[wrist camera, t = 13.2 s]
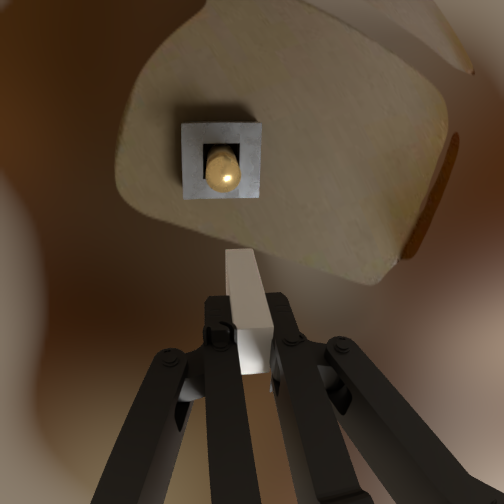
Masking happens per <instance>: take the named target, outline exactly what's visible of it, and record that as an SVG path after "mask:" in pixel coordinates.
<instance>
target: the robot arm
mask: <svg viewBox="0 0 504 504" xmlns="http://www.w3.org/2000/svg"><path fill="white" fill-rule="evenodd" d="M226 294H227V296H209V297H208V298H207V300H206V301H205V326H204V328H203V340H204V343H203V344H202V345H201V347H199V348H198V349H197V350H194V351H192V352H188V353H184V352H183V351H181V350H179V349H176V348H168V349H163V350H161V351H160V352H158V353H157V354H156V355H155V357H154V359H153V361H152V363H151V365H150V367H149V369H148V371H147V374H146V376H145V378H144V380H143V382H142V384H141V386H140V389H139V391H138V393H137V395H136V397H135V400H134V402H133V404H132V406H131V408H130V411H129V413H128V415H127V417H126V420H125V422H124V424H123V426H122V429H121V431H120V433H119V436H118V438H117V440H116V443H115V445H114V447H113V450H112V452H111V454H110V457H109V459H108V461H107V464H106V466H105V469H104V471H103V473H102V476H101V478H100V481H99V483H98V486H97V488H96V491H95V493H94V496H93V498H92V501H91V503H90V504H163V503H164V500H165V496H166V493H167V490H168V486H169V483H170V479H171V476H172V472H173V469H174V465H175V462H176V459H177V456H178V452H179V449H180V446H181V442H182V439H183V435H184V432H185V429H186V425H187V422H188V419H189V415H190V412H191V408H192V406H193V402H194V400H195V399H199V398H202V397H205V399H206V400H205V401H206V424H207V442H208V443H207V445H208V460H209V476H210V489H211V501H212V504H261V498H260V492H259V487H258V480H257V474H256V468H255V462H254V456H253V450H252V443H251V436H250V430H249V423H248V416H247V410H246V403H245V396H244V389H243V382H242V375H241V374H255V373H267V372H269V369H270V368H271V372H272V375H271V384H270V392H272V390H273V393H274V398H275V402H276V407H277V412H278V416H279V420H280V425H281V430H282V434H283V439H284V443H285V447H286V452H287V457H288V461H289V466H290V470H291V475H292V479H293V484H294V488H295V493H296V497H297V501H298V504H374V502H373V500H372V498H371V496H370V495H369V493H367V492H366V491H364V490H362V489H361V487H360V485H359V482H358V479H357V477H356V474H355V471H354V468H353V465H352V462H351V460H350V456H349V453H348V450H347V448H346V445H345V442H344V439H343V436H342V433H341V430H340V428H339V425H338V422H339V423H340V425H341V426H342V428H343V429H344V430H345V432H346V433H347V435H348V436H349V438H350V439H351V441H352V442H353V443H354V445H355V446H356V448H357V449H358V451H359V452H360V453H361V455H362V456H363V458H364V459H365V460H366V462H367V463H368V465H369V466H370V468H371V469H372V470H373V472H374V473H375V475H376V476H377V477H378V479H379V480H380V481H381V483H382V484H383V486H384V487H385V489H386V490H387V491H388V493H389V494H390V496H391V497H392V498H393V500H394V501H395V502H396V504H504V493H502V492H500V491H499V490H496V489H495V488H493V487H491V486H489V485H487V484H485V483H483V482H482V481H480V480H478V479H476V478H474V477H472V476H471V475H469V474H468V472H467V471H466V470H465V469H464V468H463V467H462V465H461V464H460V463H459V462H458V461H457V459H456V458H455V457H454V456H453V455H452V453H451V452H450V451H449V450H448V449H447V448H446V447H445V445H444V444H443V443H442V442H441V441H440V439H439V438H438V437H437V436H436V435H435V434H434V432H433V431H432V430H431V429H430V428H429V426H428V425H427V424H426V423H425V422H424V421H423V420H422V418H421V417H420V416H419V415H418V414H417V413H416V412H415V410H414V409H413V408H412V407H411V406H410V404H409V403H408V402H407V401H406V400H405V399H404V398H403V396H402V395H401V394H400V393H399V392H398V391H397V390H396V388H395V387H394V386H393V385H392V384H391V383H390V382H389V380H388V379H387V378H386V377H385V376H384V375H383V374H382V372H381V371H380V370H379V369H378V368H377V367H376V366H375V364H374V363H373V362H372V361H371V360H370V359H369V358H368V357H367V356H366V354H365V353H364V352H363V351H362V350H361V349H360V348H359V346H358V345H357V344H356V343H355V342H354V341H352V340H351V339H349V338H347V337H342V336H337V337H333V338H331V339H329V341H328V342H327V344H323V343H316V342H312V341H309V340H307V338H306V337H305V335H304V334H302V333H301V332H300V331H299V329H298V326H297V323H296V321H295V318H294V315H293V312H292V310H291V307H290V304H289V301H288V299H287V297H286V296H284V295H283V294H282V293H281V292H277V293H265V292H264V289H263V285H262V282H261V278H260V274H259V271H258V267H257V263H256V260H255V256H254V252H253V249H226ZM337 420H338V422H337Z"/></svg>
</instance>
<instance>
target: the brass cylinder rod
mask: <svg viewBox="0 0 504 504" xmlns="http://www.w3.org/2000/svg"><path fill="white" fill-rule="evenodd" d="M240 180H241V170H240V168H239V165H238V162H237V160H236V157H235V155H234V152H233V150H232V148H231V147H230V146H228V145H227V144H223V143H219V144H216V145H214V146H212V147H211V148H210V150H209V152H208V157H207V166H206V181H207V184H208V185H209V187H210V188H211V189H213V190H214V191H217V192H220V193H226V192H230V191H232V190H234V189H235V188H236V187H237V186H238V184H239V183H240Z"/></svg>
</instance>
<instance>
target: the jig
mask: <svg viewBox="0 0 504 504" xmlns="http://www.w3.org/2000/svg"><path fill="white" fill-rule="evenodd" d="M261 132H262V123H261V122H258V121H192V122H183V123H182V124H181V145H182V179H183V199H211V198H259V183H260V158H261ZM210 143H238V146H237V162H238V165H239V168H240V170H241V180H240V183H239V184H238V186H237V187H236V188H235V189H234V190H232V191H230V192H226V193H220V192H217V191H214V190H213V189H211V188H210V187H209V185H208V184H207V181H206V173H204V144H210Z"/></svg>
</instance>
